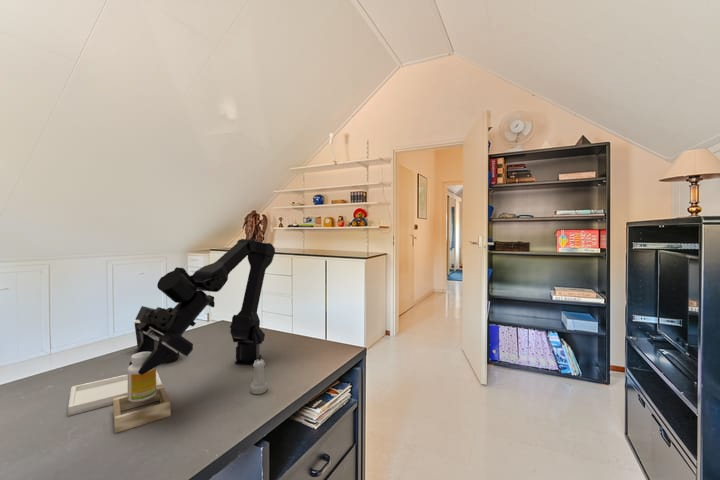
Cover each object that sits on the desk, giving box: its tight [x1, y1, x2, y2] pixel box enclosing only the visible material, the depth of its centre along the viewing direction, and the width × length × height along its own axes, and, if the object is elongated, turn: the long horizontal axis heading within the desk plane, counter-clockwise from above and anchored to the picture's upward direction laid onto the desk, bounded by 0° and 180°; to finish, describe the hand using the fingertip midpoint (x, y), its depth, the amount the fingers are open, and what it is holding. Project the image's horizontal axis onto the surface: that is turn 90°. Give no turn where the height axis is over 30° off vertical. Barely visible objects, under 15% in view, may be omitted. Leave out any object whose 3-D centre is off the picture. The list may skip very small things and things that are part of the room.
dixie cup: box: [132, 318, 143, 348], centre depth 110 cm, size 8×8×11 cm
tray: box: [67, 369, 163, 417], centre depth 81 cm, size 18×12×2 cm, turn 130°
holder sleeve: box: [112, 385, 172, 434], centre depth 72 cm, size 10×10×3 cm
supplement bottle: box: [127, 352, 157, 402], centre depth 72 cm, size 5×5×10 cm
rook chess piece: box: [249, 358, 268, 395], centre depth 84 cm, size 4×4×8 cm
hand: (135, 369), depth 71 cm, fingers closed on supplement bottle, 5 cm apart
